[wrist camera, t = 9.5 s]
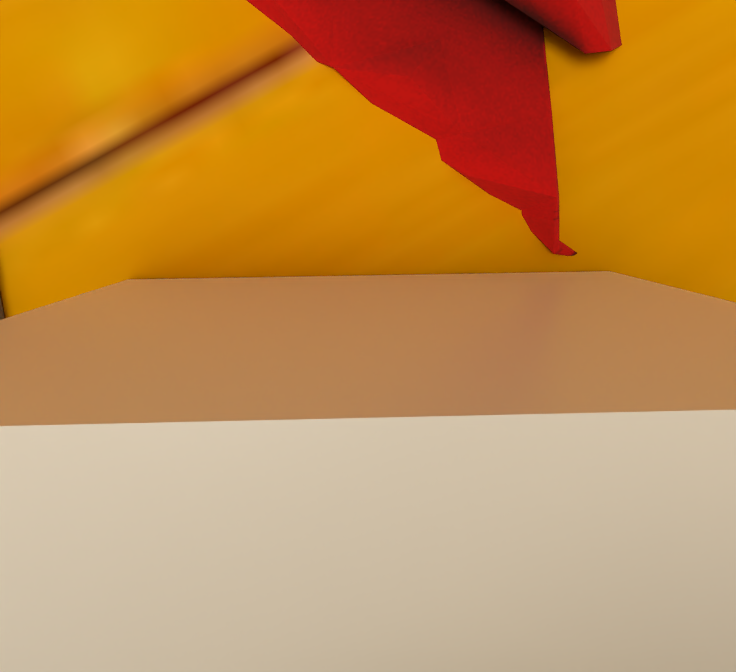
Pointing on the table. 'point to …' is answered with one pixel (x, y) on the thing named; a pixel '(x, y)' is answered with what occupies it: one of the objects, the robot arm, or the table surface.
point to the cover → (370, 476)
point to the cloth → (461, 79)
